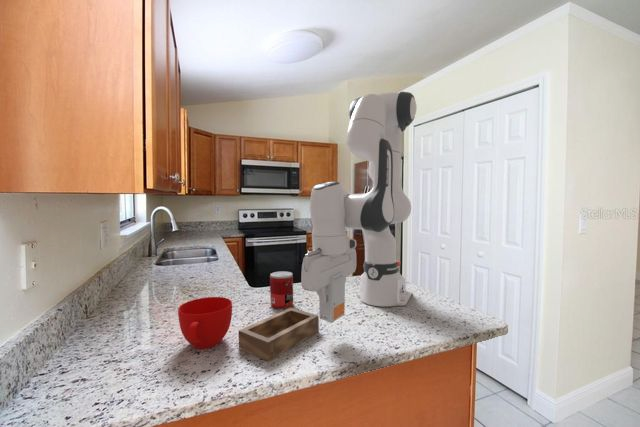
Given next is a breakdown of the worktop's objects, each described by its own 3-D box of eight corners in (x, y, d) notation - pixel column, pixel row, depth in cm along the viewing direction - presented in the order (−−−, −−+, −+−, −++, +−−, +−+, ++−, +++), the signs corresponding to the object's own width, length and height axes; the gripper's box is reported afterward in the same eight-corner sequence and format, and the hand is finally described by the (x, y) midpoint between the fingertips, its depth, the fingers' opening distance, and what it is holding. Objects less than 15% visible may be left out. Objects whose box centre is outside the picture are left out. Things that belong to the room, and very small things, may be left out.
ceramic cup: (162, 366, 66) (161, 322, 66) (190, 333, 83) (189, 297, 83) (222, 364, 67) (221, 320, 67) (237, 331, 84) (236, 296, 84)
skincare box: (332, 323, 75) (332, 277, 74) (319, 319, 77) (318, 274, 76) (345, 314, 80) (345, 271, 78) (332, 310, 82) (332, 268, 81)
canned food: (289, 309, 100) (289, 277, 100) (267, 308, 102) (266, 276, 101) (296, 301, 108) (295, 271, 107) (274, 300, 109) (274, 270, 109)
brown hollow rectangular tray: (290, 322, 89) (290, 307, 89) (318, 331, 83) (318, 315, 83) (238, 348, 74) (238, 330, 74) (268, 361, 68) (268, 342, 68)
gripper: (314, 254, 67) (317, 314, 68) (359, 239, 83) (361, 288, 84) (293, 252, 71) (296, 309, 72) (340, 238, 87) (342, 285, 88)
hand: (332, 297), depth 78 cm, fingers closed on skincare box, 6 cm apart
